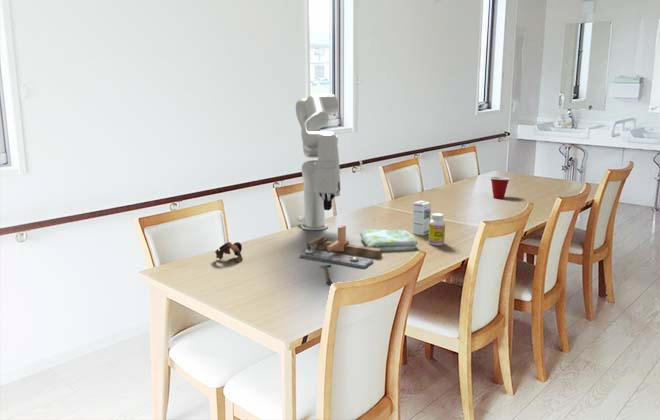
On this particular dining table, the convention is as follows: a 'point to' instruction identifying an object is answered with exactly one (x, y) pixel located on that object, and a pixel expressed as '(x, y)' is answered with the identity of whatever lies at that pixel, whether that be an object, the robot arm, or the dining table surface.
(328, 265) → the tactical tomahawk
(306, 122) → the robot arm
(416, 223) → the syrup box
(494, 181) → the plastic cup
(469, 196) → the dining table surface
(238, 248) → the brown arched piece
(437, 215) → the supplement bottle
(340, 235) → the sliding leg
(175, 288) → the dining table surface
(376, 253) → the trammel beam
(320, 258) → the steel strip
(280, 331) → the dining table surface
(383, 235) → the towel
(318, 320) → the dining table surface
